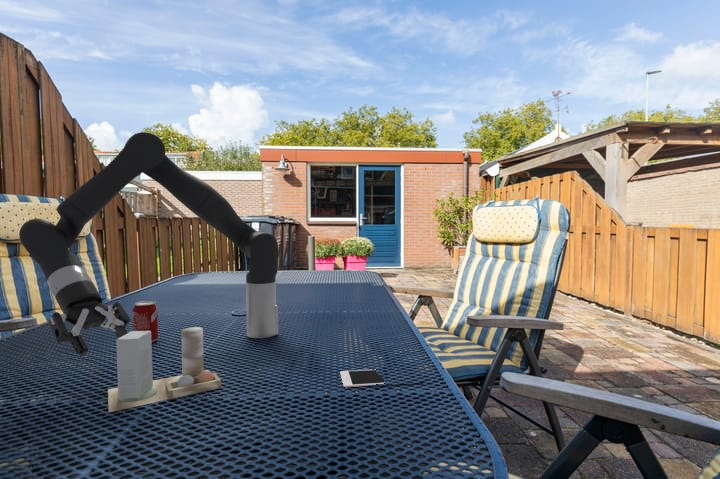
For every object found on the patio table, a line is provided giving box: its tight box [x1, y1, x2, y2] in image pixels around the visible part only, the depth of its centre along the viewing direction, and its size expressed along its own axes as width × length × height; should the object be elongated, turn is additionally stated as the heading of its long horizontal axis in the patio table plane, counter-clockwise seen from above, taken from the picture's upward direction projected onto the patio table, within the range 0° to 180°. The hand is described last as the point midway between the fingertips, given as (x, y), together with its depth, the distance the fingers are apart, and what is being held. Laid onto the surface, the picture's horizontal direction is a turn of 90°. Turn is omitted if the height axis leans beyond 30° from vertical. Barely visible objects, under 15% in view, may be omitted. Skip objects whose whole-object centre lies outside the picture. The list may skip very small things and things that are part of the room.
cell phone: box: [339, 368, 385, 389], centre depth 91 cm, size 9×18×1 cm, turn 99°
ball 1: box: [177, 375, 194, 387], centre depth 81 cm, size 3×3×3 cm
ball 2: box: [198, 370, 214, 383], centre depth 83 cm, size 3×3×3 cm
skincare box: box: [115, 330, 154, 399], centre depth 79 cm, size 6×4×12 cm
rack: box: [107, 326, 222, 413], centre depth 82 cm, size 20×12×12 cm, turn 123°
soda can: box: [131, 300, 159, 343], centre depth 119 cm, size 7×7×12 cm
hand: (106, 347), depth 83 cm, fingers open, 8 cm apart
